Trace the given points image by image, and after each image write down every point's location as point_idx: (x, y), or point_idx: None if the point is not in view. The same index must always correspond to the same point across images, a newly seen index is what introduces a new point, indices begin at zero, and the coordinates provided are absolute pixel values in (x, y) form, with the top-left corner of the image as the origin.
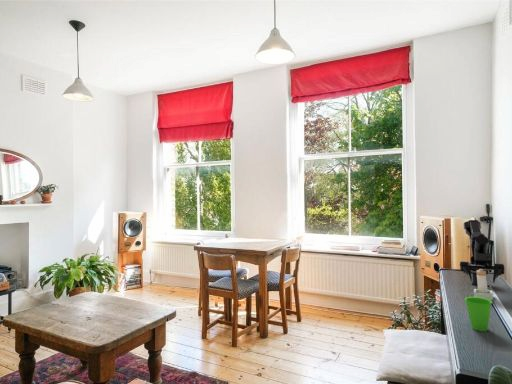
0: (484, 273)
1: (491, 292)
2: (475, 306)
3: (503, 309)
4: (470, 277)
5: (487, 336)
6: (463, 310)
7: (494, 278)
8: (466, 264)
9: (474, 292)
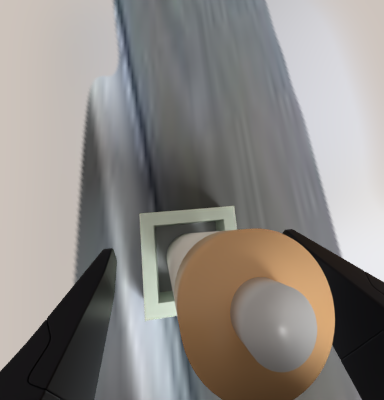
0: (196, 251)
1: (146, 260)
2: None
3: (100, 97)
4: (314, 245)
5: None
6: (232, 30)
7: (84, 283)
8: None
9: (230, 209)
